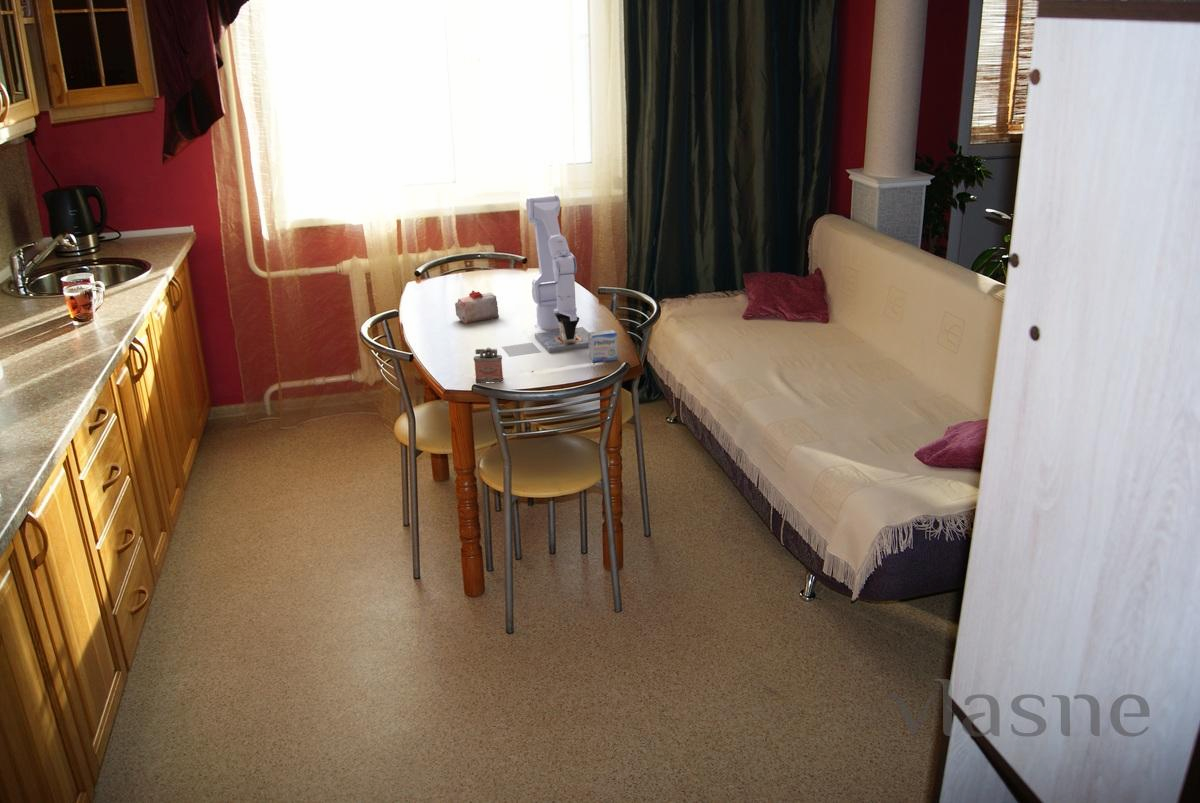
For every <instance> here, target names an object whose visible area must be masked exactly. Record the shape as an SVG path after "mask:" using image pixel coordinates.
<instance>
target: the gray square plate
mask: <svg viewBox="0 0 1200 803" xmlns="http://www.w3.org/2000/svg"><path fill="white" fill-rule="evenodd" d="M501 348H502V350H503V351H504V352H505V353H506V354H507V356H508V357H515V356H523V355H530V354H531V355H532V354H536V353H537V354H538V353H541V352H542V351H541V350H540V349H539V348H538V347H537V346H536V344H534V342H526V343H519V344H513V345H505V346H501Z"/></svg>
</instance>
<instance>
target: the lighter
mask: <svg viewBox="0 0 1200 803" xmlns="http://www.w3.org/2000/svg"><path fill="white" fill-rule="evenodd" d="M474 351H475V355H476V356H473V361H474V369H475V370H474V371H475V383H476V384H478V383H480V384H481V383H486V382H501V383H503V382H504V381H505V380H504V377H503V376H504V374H503V364H502V360H503V356H502V355H500V354H498V349H497V348H491V347H486V348H485V349H484V348H475V350H474ZM503 380H504V381H503ZM502 381H503V382H502ZM480 384H479V385H480ZM481 385H482V384H481Z"/></svg>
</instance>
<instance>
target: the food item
mask: <svg viewBox="0 0 1200 803" xmlns="http://www.w3.org/2000/svg"><path fill="white" fill-rule="evenodd" d="M468 294H469V295H468V296H466V297H460V298H458V299H457V302H455V303H454V306H455V315H456V317H458V319H459V320H460V321H462V322H463V323H464V324H465V325H466V324H472V323H476V322H481V321H485V320H486V321H487V320H492V318H493V319H496V318H499V317H500V315H499V308H498V307H499V306H498V301H497V296H496V295H495V294H494V293H493V292H486V293H481V292H479V291H475V290H472V291H471V292H469V293H468Z"/></svg>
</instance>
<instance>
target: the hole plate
mask: <svg viewBox="0 0 1200 803" xmlns="http://www.w3.org/2000/svg"><path fill="white" fill-rule="evenodd" d="M588 332H589V331H588V330H587V329H586V328H585V327H584V326H580V327H576V341H570V342H563V343H562V342H561V341H560V329H559V330H558V329H557V330H551V331H543V332H537V333H536V332H535V333H534V338H535V339H536V341H537V342H538V343H539V344H540V345H541V346H542V347H543V348H544V350H545V351H547V353H548V354H551V353H560V352H566V351H574V350H579V349H589V343H588Z"/></svg>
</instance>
